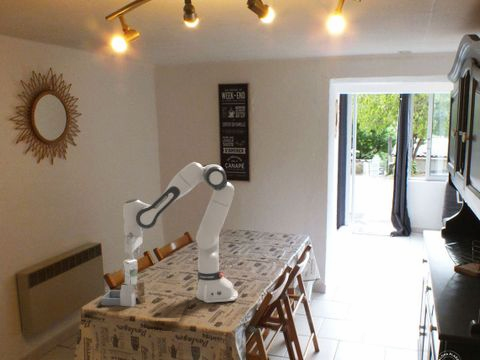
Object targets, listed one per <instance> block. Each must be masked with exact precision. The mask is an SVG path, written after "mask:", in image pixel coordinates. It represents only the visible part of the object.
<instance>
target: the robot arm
mask: <svg viewBox="0 0 480 360" xmlns="http://www.w3.org/2000/svg"><path fill="white" fill-rule="evenodd" d="M201 182H205V183H206V184H208V186H209V187H211V188H213V191H212V194H211V197H210V200H209V202H208V205H207V207H206V210H205V212H204V215H203V218H202V220H201V222H200V225H199V227H198V229H197V232H196V234H195V241H196V244H197V245H198V246H197V247H198V253H197V258H198V259H197V265H198V266H197V267H198V270H197V282H198V283H197V291H196V296H195V298H197V299H198V300H200V301H202V302H204V303H219V302H220V303H222V302H232V301H236V300H237V299H238V297H239V293H238V291H237V290H236V289H234V285H233V283H232V282H231V281H230V280H229V279H227V278H226V277H224V272H223V270H221V269H220V262H219V261H220V260H219V259H220V257H219V255H220V247H219V245H220V235H221V234H220V233H221V231H222V229H223V226H224V223H225V221H226V218H227V215H228V213H229V212H230V211H229V210H230V208H231V205H232V203H233V199H234V196H235V186H234V185H233V184H232V183H231V182H229V181H228V179H227V174H226V172H225V170H224V168H223V167H222V166H221V165H220V164H218V163H209V164H204V165H202V164H200V163H198V162H196V161H193V162H190V163H189V164H187V165H185V167H183V168H182V169H181V170H180V171H178V172H177V173H176V174H175V175H174V177H172V179H171V180H170V182H169V184H168V185H167V187H166V189H165V191H164V192H163V194H161V195H160V196H159V198H157V199H156V200H155V201H154V202H152V204H148V203H146V202H143V201H141V200H140V199H138V198H135V199H130V200H127V201H126V202H125V203H124V204H123V206H122V208H123V209H122V210H123V212H122V213H123V215H122V216H123V220H124V224H123V228H124V229H123V231H124V232H123V233H124V235H125V236H126V237H125V239H124V253H125V254H128V256H129V259H130V260H133V259H135V256H134V255H139V254H140V248H141V247H140V246H141V245H143V242H144V239H143V238H144V230H145V229H147V230H148V229H152V228H153V227H154V226H155V224H156V223H157V221H158V219H159V217H160V215H161V214H162V213H163V212H164V211H165V210H166V209H167V208H168V207H169V206H170V205H172V204H173V203H174V202H175V201H177V200H179V199H180V198H182V197H184V196H185V195H187V194H188V193H189V192H191V190H193V189H194V188H195V187H196V186H197V185H199V183H201Z"/></svg>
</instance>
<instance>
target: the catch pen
mask: <svg viewBox="0 0 480 360" xmlns="http://www.w3.org/2000/svg"><path fill="white" fill-rule="evenodd" d="M120 291H121V289H119V290H118V289H117V290H116V289H115V290H113V289H111V290H108V291H107V292H106V293H105V294H104V295H103V296H102V297H101V303H100V304H101V306H121V305H120Z"/></svg>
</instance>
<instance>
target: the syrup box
mask: <svg viewBox="0 0 480 360" xmlns="http://www.w3.org/2000/svg"><path fill="white" fill-rule="evenodd" d="M138 271H139V269H138V260H137V259H135V258H134V259H133V260H130V258H128V259H124V260H123V279H124V280H123V281H124V282H123V283H124V284H123V285H126V286H134V285H137V281H139V276H138V275H139V273H138Z"/></svg>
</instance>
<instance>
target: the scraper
mask: <svg viewBox="0 0 480 360" xmlns="http://www.w3.org/2000/svg"><path fill="white" fill-rule="evenodd" d="M136 291H137V294H136V296H137V297H136V298H137V300H138V301H139V302H140V303H142V304H143V303H146V295H145V281H144V280H138V281H137V284H136Z"/></svg>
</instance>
